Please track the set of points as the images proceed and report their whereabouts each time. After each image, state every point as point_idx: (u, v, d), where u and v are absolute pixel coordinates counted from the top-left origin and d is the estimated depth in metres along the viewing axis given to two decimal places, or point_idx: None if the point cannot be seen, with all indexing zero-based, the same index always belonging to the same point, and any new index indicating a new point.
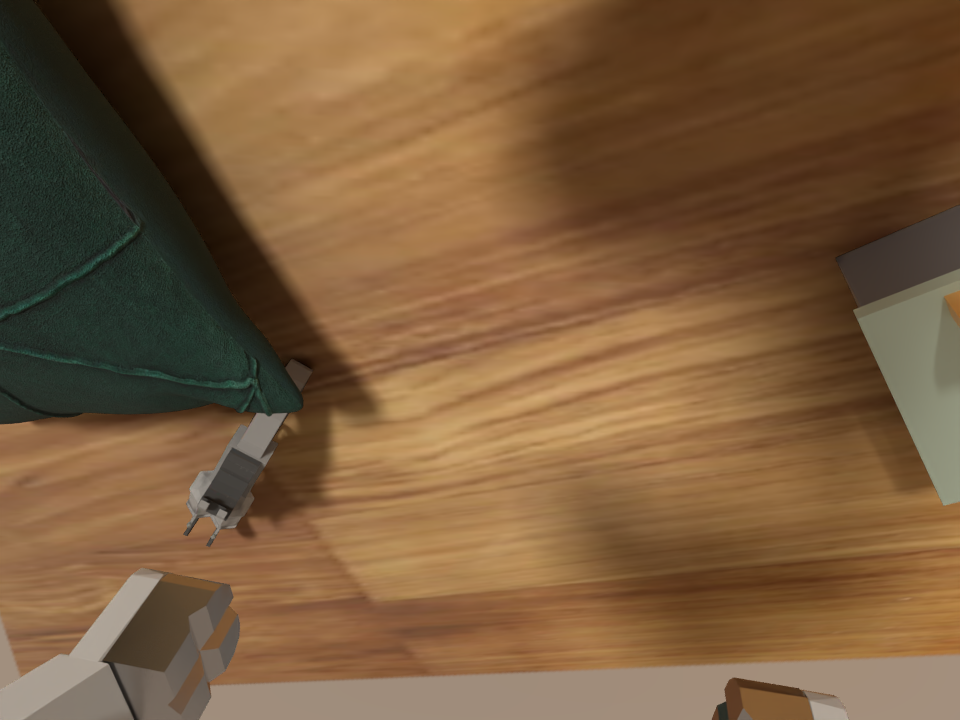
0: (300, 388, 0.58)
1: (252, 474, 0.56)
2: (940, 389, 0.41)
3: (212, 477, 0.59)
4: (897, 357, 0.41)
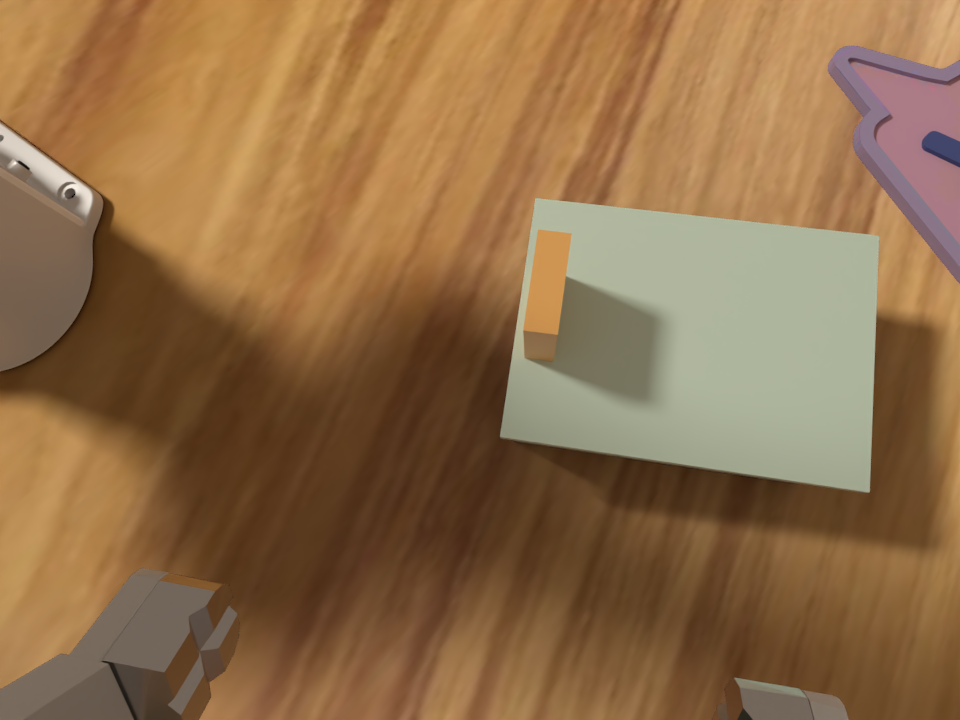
0: None
1: None
2: (650, 410, 0.34)
3: None
4: (576, 427, 0.34)
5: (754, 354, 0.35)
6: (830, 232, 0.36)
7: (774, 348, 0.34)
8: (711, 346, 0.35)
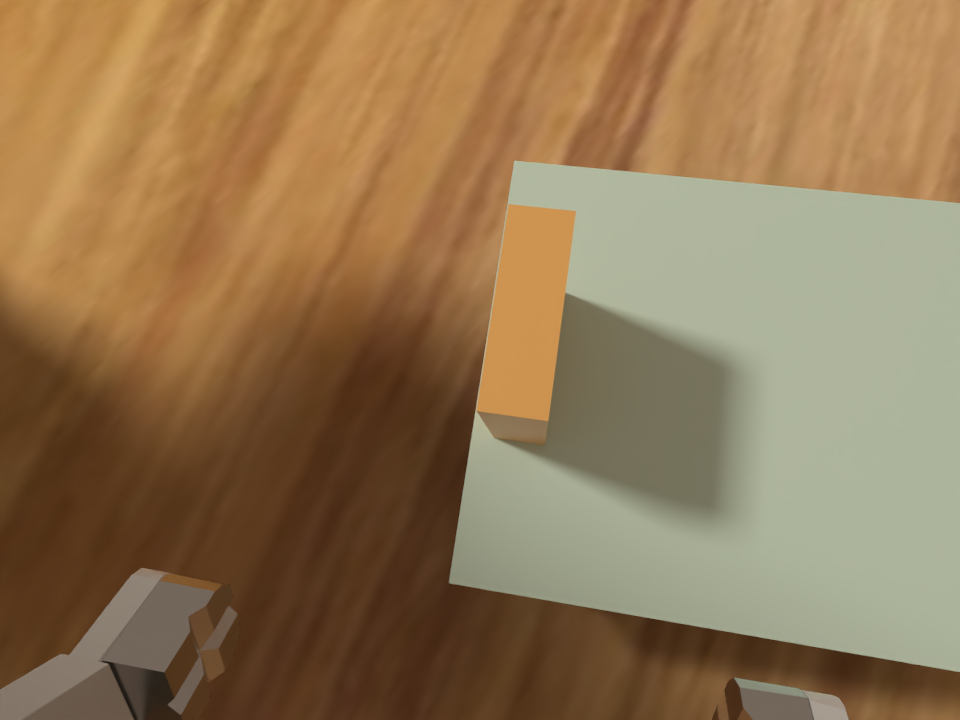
0: None
1: None
2: (720, 536, 0.19)
3: None
4: (586, 567, 0.19)
5: (908, 433, 0.19)
6: None
7: (943, 422, 0.19)
8: (827, 418, 0.19)
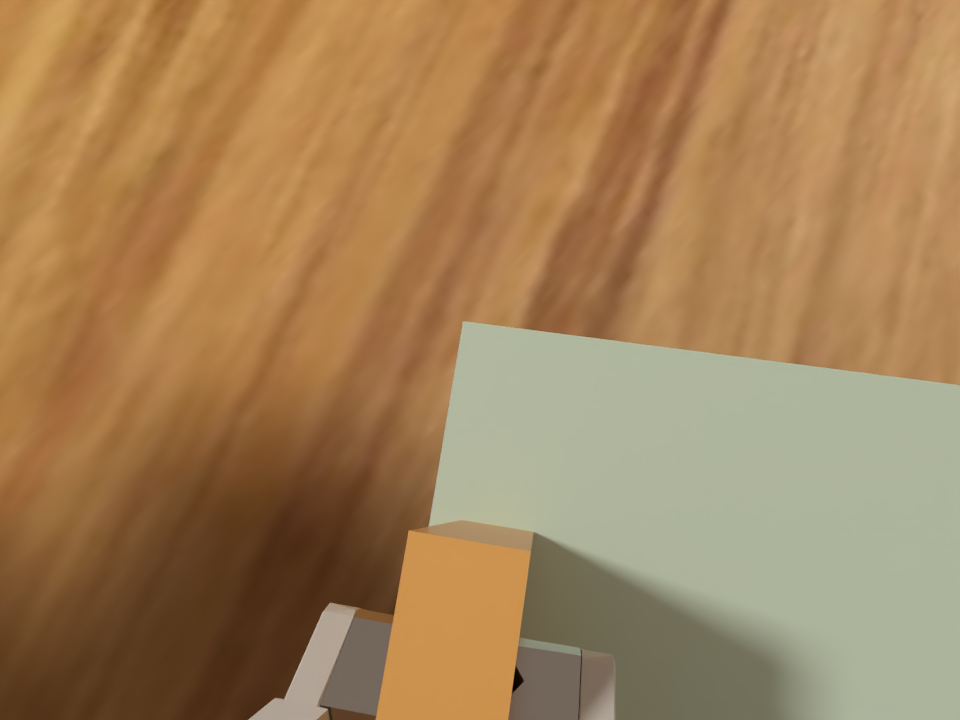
0: None
1: None
2: None
3: None
4: None
5: None
6: None
7: None
8: None
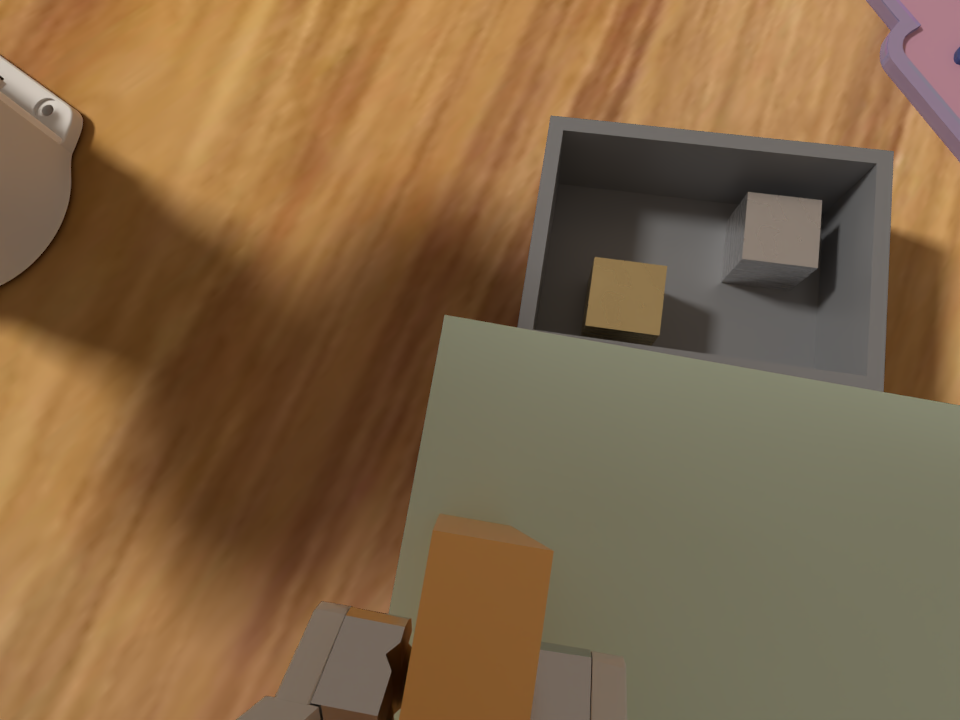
0: None
1: None
2: None
3: None
4: None
5: None
6: None
7: None
8: None
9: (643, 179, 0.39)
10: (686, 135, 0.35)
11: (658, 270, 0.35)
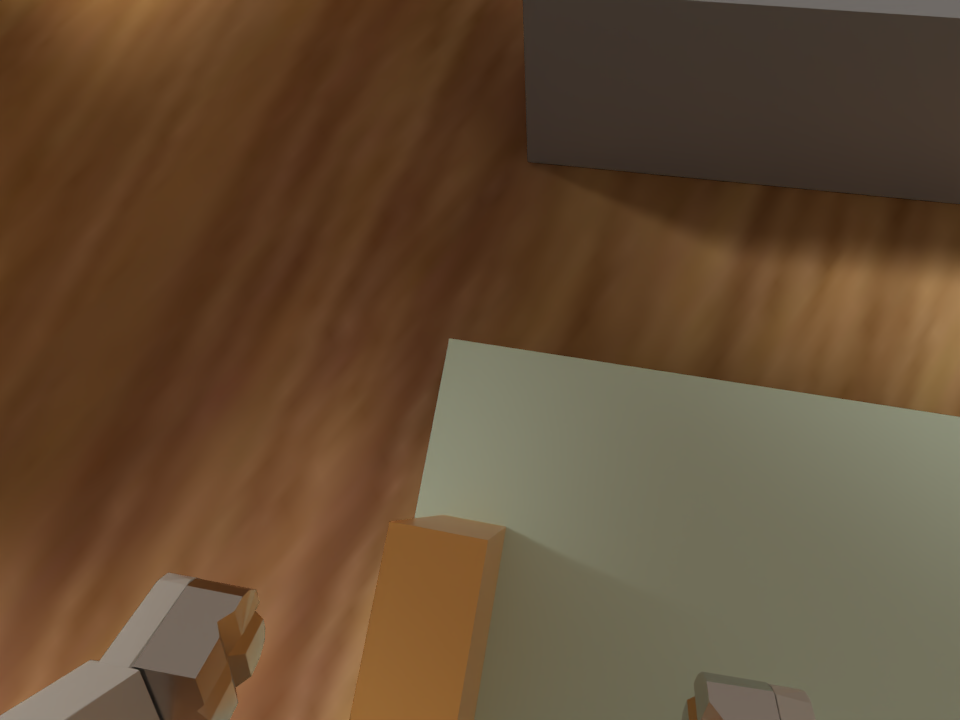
0: None
1: None
2: None
3: None
4: None
5: None
6: None
7: None
8: None
9: None
10: None
11: None
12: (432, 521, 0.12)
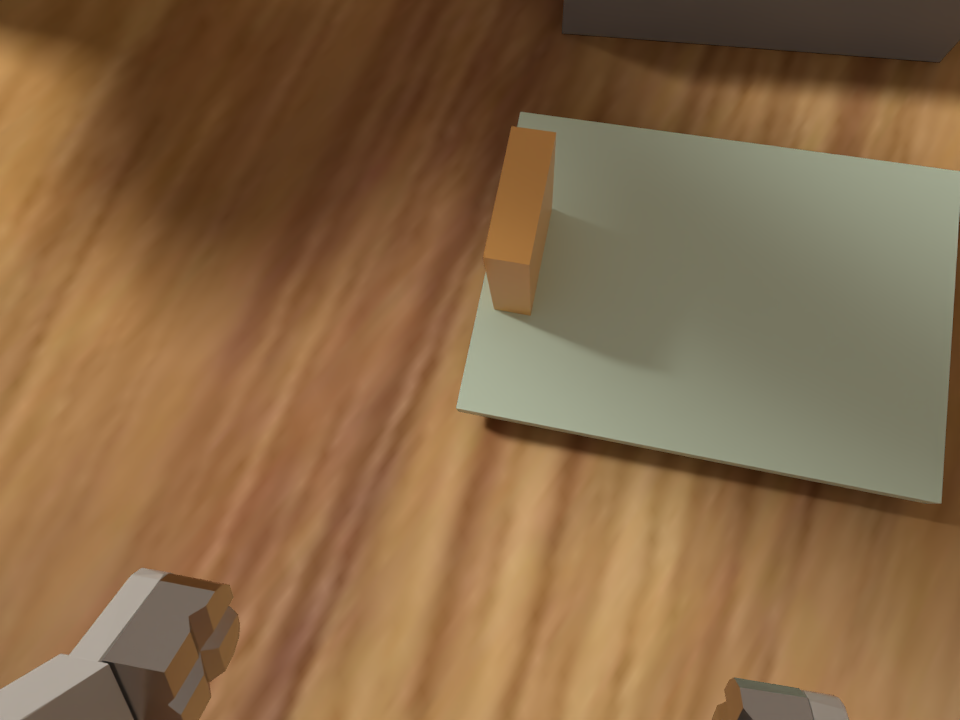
0: None
1: None
2: (652, 382, 0.26)
3: None
4: (555, 400, 0.27)
5: (792, 316, 0.26)
6: (898, 165, 0.27)
7: (818, 309, 0.26)
8: (736, 304, 0.27)
9: None
10: None
11: None
12: None
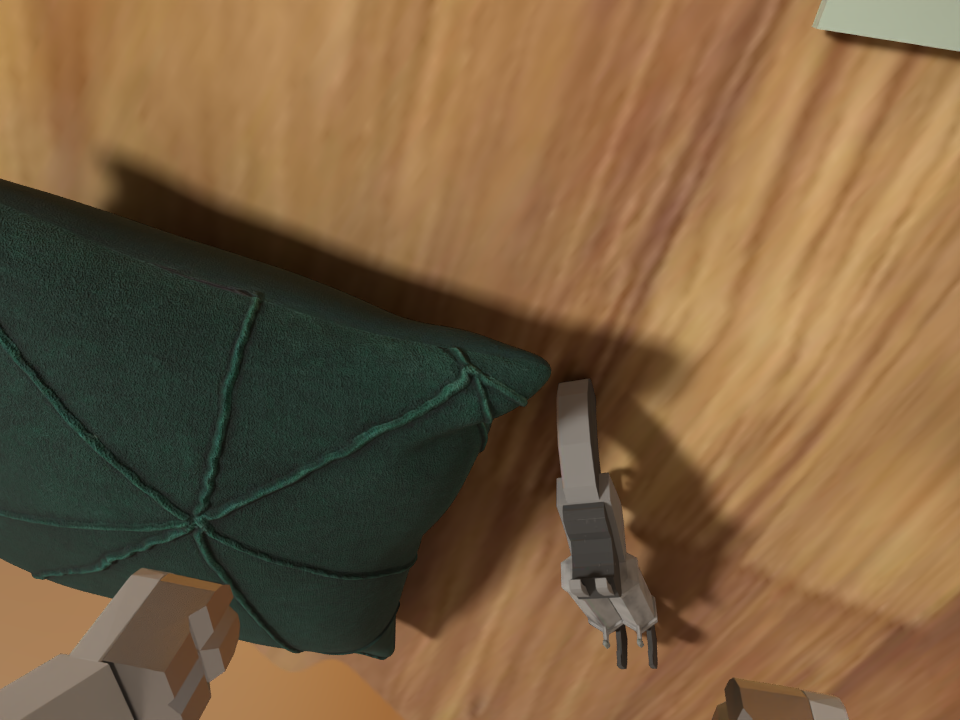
0: (585, 398, 0.46)
1: (603, 520, 0.43)
2: None
3: None
4: (907, 16, 0.32)
5: None
6: None
7: None
8: None
9: None
10: None
11: None
12: None
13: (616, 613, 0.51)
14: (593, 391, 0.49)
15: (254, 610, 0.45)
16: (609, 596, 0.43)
